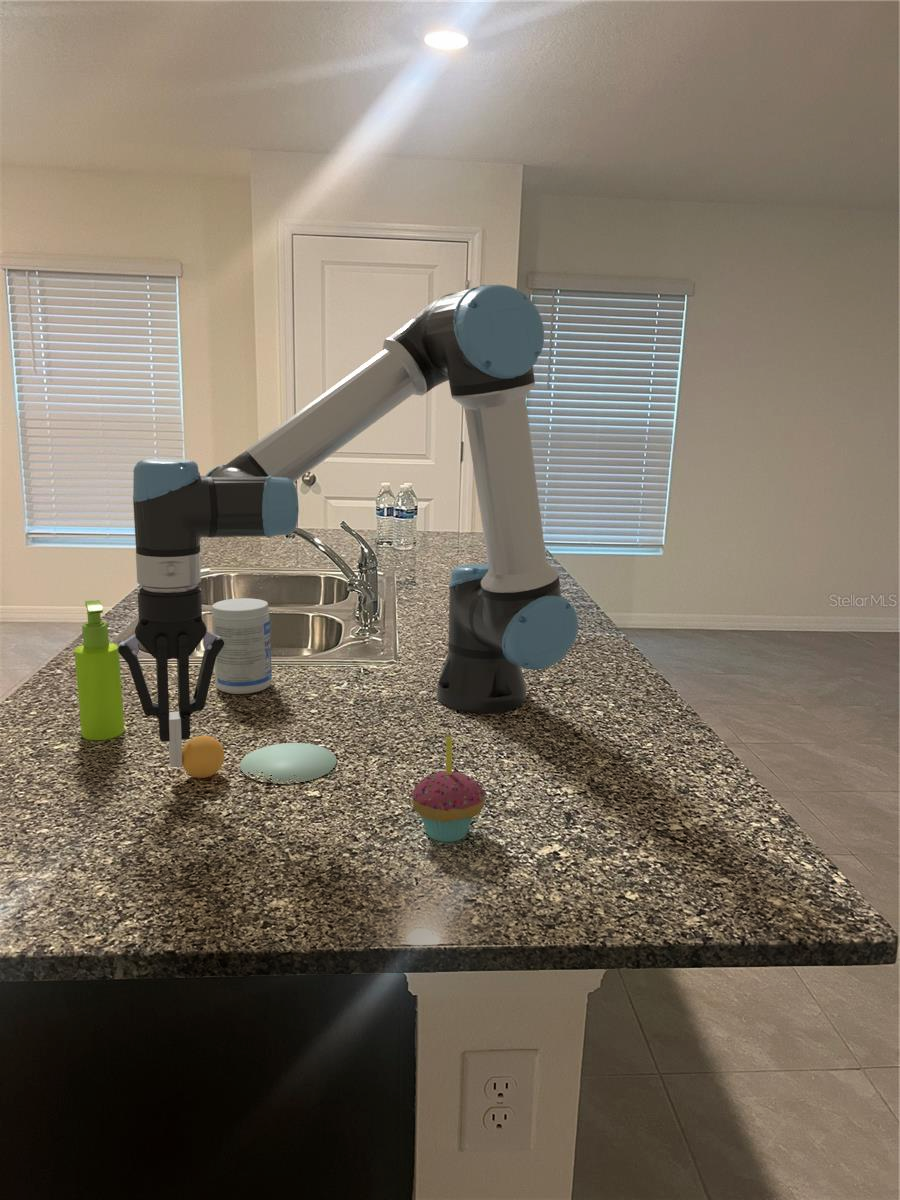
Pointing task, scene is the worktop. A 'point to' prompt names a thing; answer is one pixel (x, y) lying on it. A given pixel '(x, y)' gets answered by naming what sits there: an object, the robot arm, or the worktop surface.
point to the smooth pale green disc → (289, 762)
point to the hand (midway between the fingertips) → (175, 762)
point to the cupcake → (448, 801)
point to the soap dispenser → (98, 679)
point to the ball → (202, 756)
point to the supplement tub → (242, 645)
